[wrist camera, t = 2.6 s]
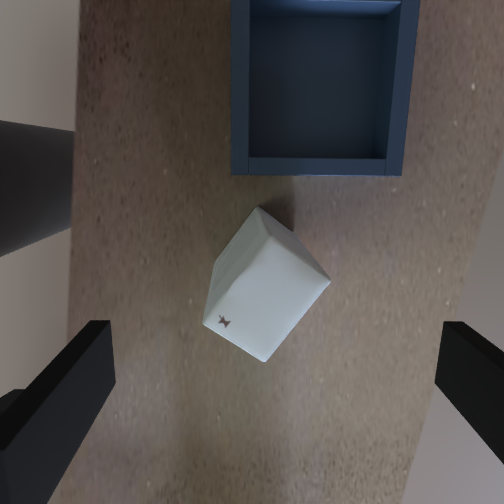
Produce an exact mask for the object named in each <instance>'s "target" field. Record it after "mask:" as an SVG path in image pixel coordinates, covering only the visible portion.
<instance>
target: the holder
mask: <svg viewBox="0 0 504 504" xmlns="http://www.w3.org/2000/svg"><path fill="white" fill-rule="evenodd" d="M419 8H420V0H231V175H248V174H249V175H293V176H394V177H400V176H401V174H402V164H403V155H404V146H405V137H406V128H407V118H408V109H409V100H410V91H411V82H412V72H413V63H414V54H415V45H416V36H417V26H418V17H419Z"/></svg>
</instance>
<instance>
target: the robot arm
mask: <svg viewBox="0 0 504 504" xmlns="http://www.w3.org/2000/svg"><path fill="white" fill-rule="evenodd" d="M115 383H116V381H115V369H114V357H113V346H112V334H111V323H110V320H90V321H89V322H88V323H87V324H86V325H85V327H84V328H83V329H82V330H81V331H80V332H79V333H78V334H77V335H76V336H75V337H74V338H73V339H72V340H71V341H70V342H69V343H68V345H67V346H66V347H65V348H64V349H63V350H62V351H61V352H60V353H59V354H58V355H57V356H56V357H55V358H54V359H53V360H52V361H51V363H50V364H49V365H48V366H47V367H46V368H45V369H44V370H43V371H42V372H41V373H40V374H39V375H38V376H37V377H36V378H35V379H34V380H33V381H32V383H31V384H30V385H29V386H28V387H27V388H26V389H14V390H12V391H11V392H9V393H8V394H6V395H4V396H2V397H1V398H0V504H47V503H48V501H49V499H50V497H51V496H52V494H53V492H54V490H55V489H56V487H57V485H58V483H59V482H60V480H61V478H62V476H63V475H64V473H65V471H66V469H67V468H68V466H69V464H70V462H71V461H72V459H73V457H74V455H75V454H76V452H77V450H78V448H79V447H80V445H81V443H82V441H83V440H84V438H85V436H86V434H87V433H88V431H89V429H90V427H91V426H92V424H93V422H94V420H95V419H96V417H97V415H98V413H99V412H100V410H101V408H102V406H103V404H104V403H105V401H106V399H107V397H108V396H109V394H110V392H111V390H112V389H113V387H114V385H115ZM435 384H436V385H437V386H438V387H439V389H440V390H441V391H442V392H443V393H444V395H445V396H446V397H447V398H448V399H449V400H450V402H451V403H452V404H453V405H454V406H455V407H456V409H457V410H458V411H459V412H460V413H461V415H462V416H463V417H464V418H465V419H466V420H467V422H468V423H469V424H470V425H471V426H472V427H473V429H474V430H475V431H476V432H477V433H478V435H479V436H480V437H481V438H482V439H483V440H484V442H485V443H486V444H487V445H488V446H489V448H490V449H491V450H492V451H493V452H494V453H495V455H496V456H497V457H498V458H499V459H500V460H501V462H502V463H503V464H504V352H503V351H502V350H500V349H499V348H498V347H496V346H495V345H494V344H492V343H491V342H490V341H488V340H487V339H486V338H484V337H483V336H481V335H480V334H479V333H478V332H476V331H475V330H473V329H472V328H471V327H469V326H468V325H467V324H465V323H464V322H461V321H460V322H459V321H444V323H443V330H442V336H441V343H440V350H439V356H438V363H437V370H436V376H435Z"/></svg>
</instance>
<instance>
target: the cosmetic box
mask: <svg viewBox="0 0 504 504" xmlns="http://www.w3.org/2000/svg"><path fill="white" fill-rule="evenodd" d="M330 282H331V279H330V277H329V276H328V275H327V273H326V272H325V271H324V270H323V269H322V267H321V266H320V265H319V263H318V262H317V261H316V260H315V259H314V257H313V256H312V255H311V254H310V252H309V251H308V250H307V248H306V247H305V246H304V245H303V243H302V242H301V241H300V240H299V238H298V237H297V236H296V235H295V234H294V233H293V232H291V231H290V230H289V229H287V228H286V227H285V226H283V225H282V224H281V223H280V222H278V221H277V220H276V219H274V218H273V217H272V216H271V215H269V214H268V213H267V212H265V211H264V210H263V209H261V208H260V207H258V206H257V207H256V208H255V209H254V210H253V211H252V213H251V214H250V215H249V217H248V218H247V219H246V221H245V222H244V223H243V225H242V226H241V227H240V229H239V230H238V231H237V233H236V234H235V235H234V237H233V238H232V239H231V241H230V242H229V243H228V245H227V246H226V247H225V249H224V250H223V251H222V253H221V254H220V255H219V257H218V258H217V259H216V261H215V263H214V268H213V272H212V277H211V283H210V287H209V292H208V297H207V302H206V306H205V311H204V316H203V322H202V323H203V325H205V326H206V327H208V328H210V329H211V330H213V331H214V332H216V333H218V334H219V335H221V336H223V337H224V338H226V339H227V340H229V341H231V342H232V343H234V344H235V345H237V346H239V347H240V348H242V349H243V350H245V351H246V352H248V353H249V354H251V355H253V356H254V357H256V358H257V359H259V360H261V361H262V362H266V360H267V359H268V358H269V357H270V356H271V354H272V353H273V352H274V351H275V350H276V348H277V347H278V346H279V345H280V343H281V342H282V341H283V340H284V339H285V337H286V336H287V335H288V334H289V332H290V331H291V330H292V329H293V328H294V326H295V325H296V324H297V322H298V321H299V320H300V319H301V317H302V316H303V315H304V314H305V312H306V311H307V310H308V309H309V307H310V306H311V305H312V304H313V302H314V301H315V300H316V299H317V298H318V296H319V295H320V294H321V293H322V291H323V290H324V289H325V288H326V287H327V285H328V284H329V283H330Z"/></svg>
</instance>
